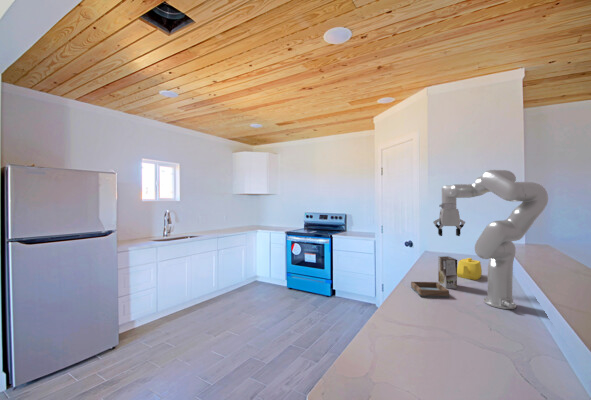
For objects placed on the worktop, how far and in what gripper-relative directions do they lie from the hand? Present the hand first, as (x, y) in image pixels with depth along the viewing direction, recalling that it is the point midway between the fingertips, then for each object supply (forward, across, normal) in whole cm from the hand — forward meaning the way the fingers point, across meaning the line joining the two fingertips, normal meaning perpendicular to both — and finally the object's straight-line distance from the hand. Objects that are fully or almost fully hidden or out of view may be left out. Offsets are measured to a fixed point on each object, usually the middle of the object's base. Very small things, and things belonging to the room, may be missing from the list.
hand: (449, 235), depth 162 cm
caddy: (+28, -17, -16) cm, 37 cm away
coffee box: (+29, -2, -3) cm, 29 cm away
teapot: (+28, +19, +17) cm, 38 cm away
